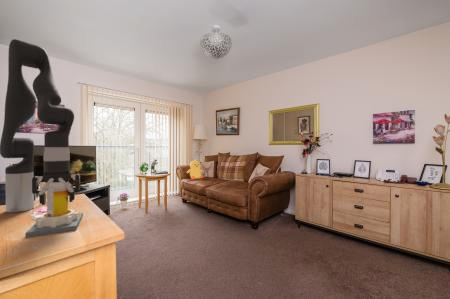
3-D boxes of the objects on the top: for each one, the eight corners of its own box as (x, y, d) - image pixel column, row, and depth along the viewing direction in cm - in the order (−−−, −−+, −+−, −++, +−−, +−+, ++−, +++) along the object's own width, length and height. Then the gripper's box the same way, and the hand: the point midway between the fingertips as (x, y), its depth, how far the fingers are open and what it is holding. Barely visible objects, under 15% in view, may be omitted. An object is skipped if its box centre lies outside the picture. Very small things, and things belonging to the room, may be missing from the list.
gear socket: (41, 221, 81) (41, 210, 81) (83, 215, 88) (82, 205, 87) (25, 237, 67) (25, 223, 67) (76, 229, 73) (76, 217, 73)
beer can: (71, 218, 80) (72, 180, 80) (57, 224, 74) (57, 182, 74) (57, 218, 81) (58, 179, 81) (42, 223, 75) (42, 182, 75)
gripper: (81, 158, 83) (82, 198, 84) (35, 159, 77) (36, 202, 77) (78, 159, 77) (79, 203, 77) (27, 160, 70) (28, 208, 70)
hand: (57, 203), depth 77 cm, fingers open, 7 cm apart
